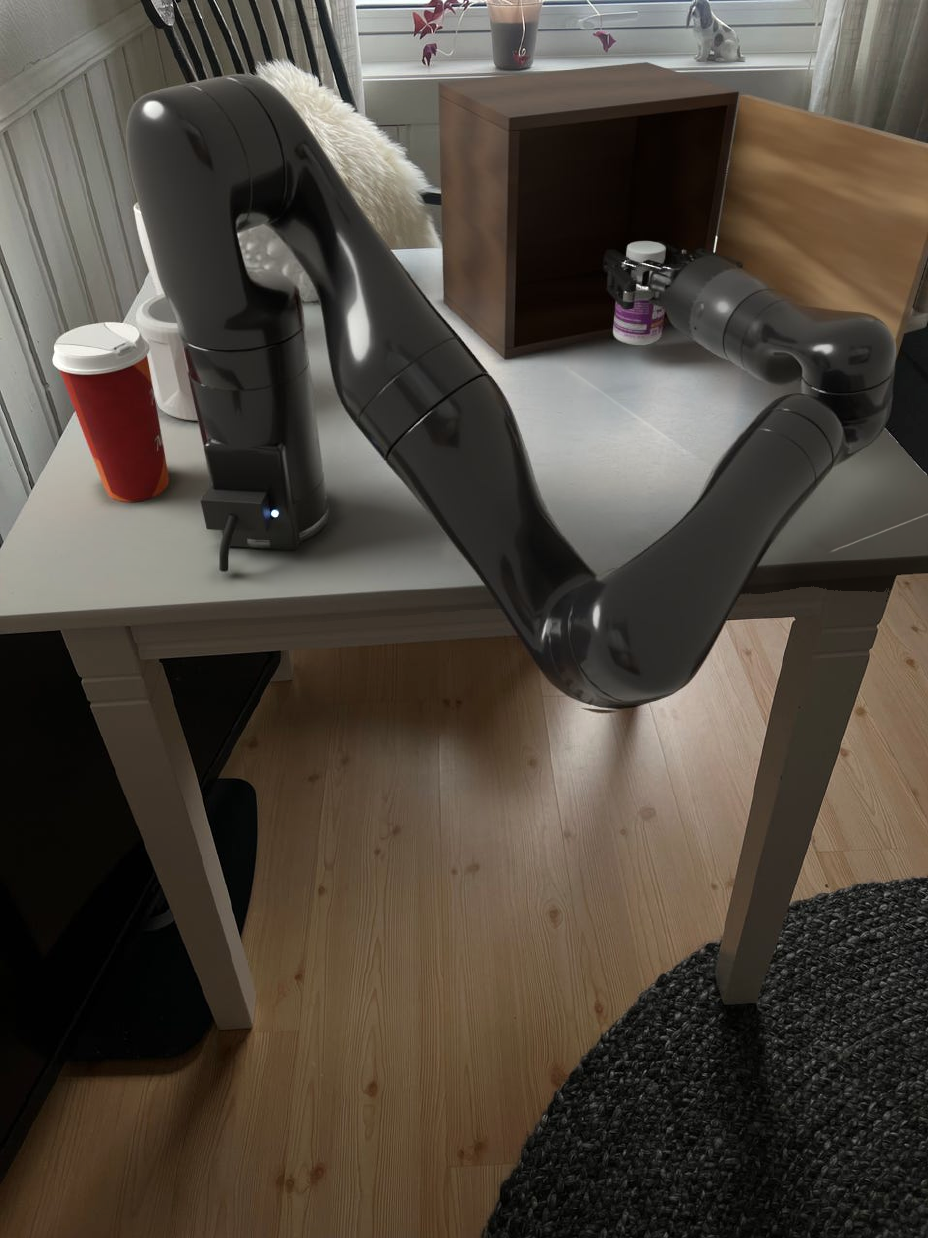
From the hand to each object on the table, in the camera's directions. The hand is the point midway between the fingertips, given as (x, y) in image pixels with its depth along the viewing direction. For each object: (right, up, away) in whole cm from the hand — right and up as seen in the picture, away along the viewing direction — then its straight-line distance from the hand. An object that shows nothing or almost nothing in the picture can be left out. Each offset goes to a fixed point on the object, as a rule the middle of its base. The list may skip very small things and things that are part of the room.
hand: (632, 254), depth 99 cm
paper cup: (-48, -27, -14) cm, 56 cm away
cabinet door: (+20, -10, +5) cm, 23 cm away
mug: (-46, -15, 0) cm, 48 cm away
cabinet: (-5, -1, +16) cm, 16 cm away
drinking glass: (-50, -6, +11) cm, 51 cm away
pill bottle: (+1, -8, +3) cm, 9 cm away
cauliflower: (-40, +4, +22) cm, 46 cm away
